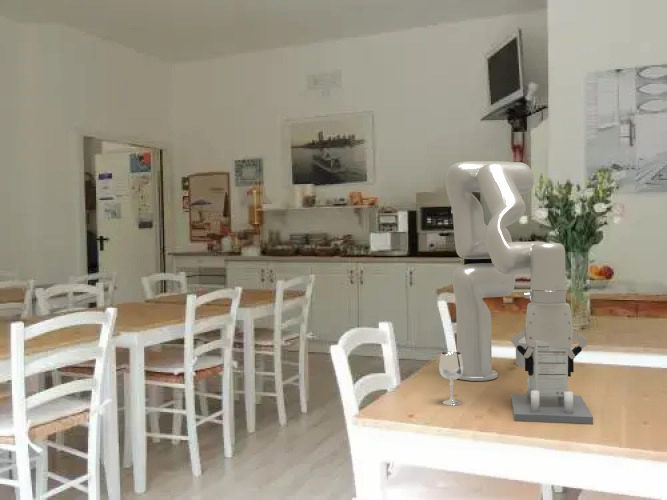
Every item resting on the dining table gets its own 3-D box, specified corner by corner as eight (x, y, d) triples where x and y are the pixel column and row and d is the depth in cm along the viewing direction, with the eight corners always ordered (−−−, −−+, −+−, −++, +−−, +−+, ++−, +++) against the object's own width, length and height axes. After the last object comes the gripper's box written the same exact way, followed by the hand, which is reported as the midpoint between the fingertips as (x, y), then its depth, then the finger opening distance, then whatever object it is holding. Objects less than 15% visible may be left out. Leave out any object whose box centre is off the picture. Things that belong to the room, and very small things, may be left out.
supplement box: (529, 388, 157) (528, 334, 156) (561, 388, 156) (561, 334, 155) (534, 396, 150) (534, 340, 149) (568, 397, 149) (568, 340, 148)
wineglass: (465, 400, 162) (464, 351, 162) (462, 406, 157) (461, 356, 157) (441, 399, 164) (441, 350, 164) (437, 405, 159) (436, 355, 158)
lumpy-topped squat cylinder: (520, 359, 210) (519, 332, 209) (563, 362, 204) (563, 334, 204) (514, 366, 200) (513, 337, 200) (559, 369, 195) (559, 340, 195)
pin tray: (514, 420, 145) (514, 393, 145) (511, 399, 162) (510, 375, 162) (593, 424, 141) (592, 396, 141) (580, 401, 159) (580, 377, 159)
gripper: (508, 299, 149) (510, 377, 150) (591, 299, 146) (592, 379, 146) (507, 295, 157) (508, 370, 157) (586, 295, 153) (587, 372, 153)
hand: (549, 374), depth 152 cm, fingers closed on supplement box, 7 cm apart
